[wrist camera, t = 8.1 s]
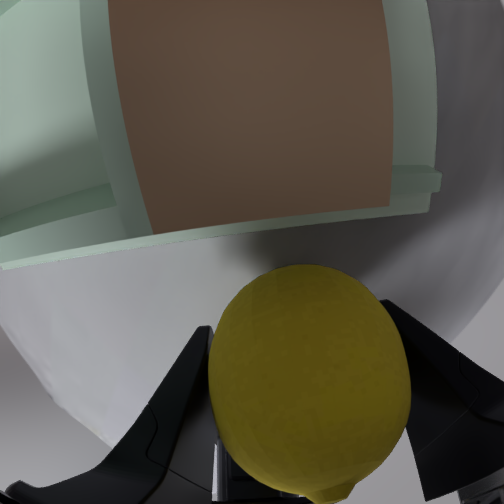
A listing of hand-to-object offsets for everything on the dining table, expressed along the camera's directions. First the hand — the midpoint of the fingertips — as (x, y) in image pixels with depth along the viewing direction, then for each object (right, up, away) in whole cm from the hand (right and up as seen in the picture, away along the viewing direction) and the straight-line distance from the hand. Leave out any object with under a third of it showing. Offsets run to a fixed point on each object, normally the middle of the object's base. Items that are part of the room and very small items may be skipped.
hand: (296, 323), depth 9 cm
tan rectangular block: (-2, +8, -4) cm, 9 cm away
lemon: (0, +1, +2) cm, 2 cm away
